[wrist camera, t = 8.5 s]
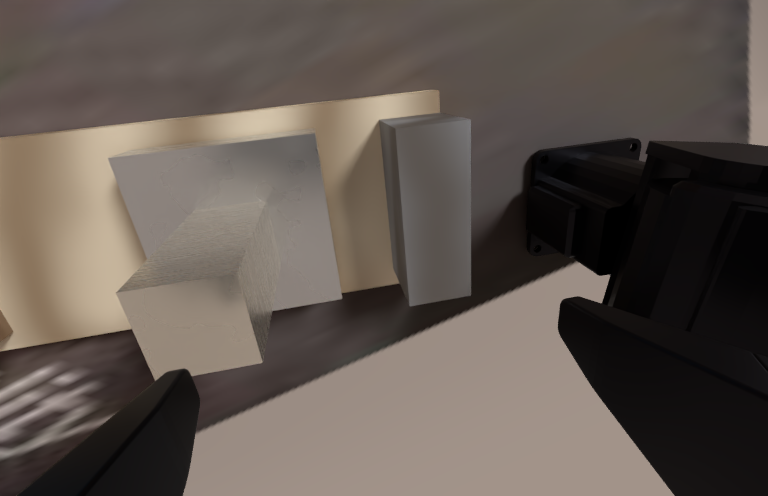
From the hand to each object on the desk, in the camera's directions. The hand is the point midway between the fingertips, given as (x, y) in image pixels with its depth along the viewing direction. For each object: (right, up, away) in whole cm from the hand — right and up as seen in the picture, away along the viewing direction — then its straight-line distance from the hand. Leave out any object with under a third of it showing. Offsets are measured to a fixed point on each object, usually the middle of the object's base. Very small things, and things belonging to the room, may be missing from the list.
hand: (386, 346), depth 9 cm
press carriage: (-7, +4, +9) cm, 12 cm away
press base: (-9, +4, +11) cm, 15 cm away
